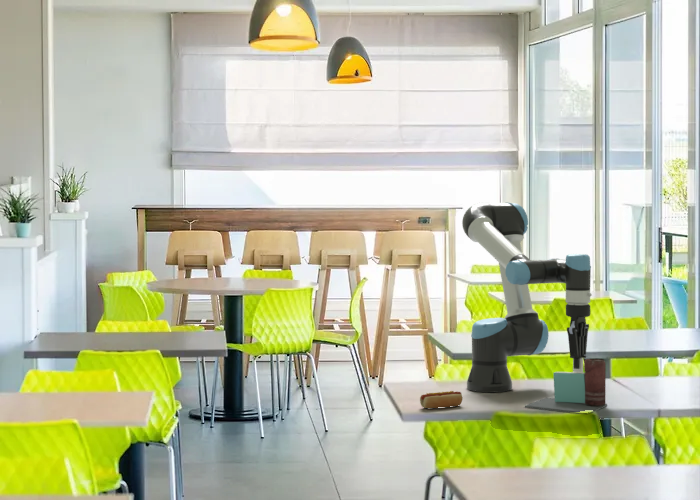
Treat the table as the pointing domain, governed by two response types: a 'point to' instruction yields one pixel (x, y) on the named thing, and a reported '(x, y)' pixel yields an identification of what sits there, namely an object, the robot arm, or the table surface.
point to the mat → (560, 406)
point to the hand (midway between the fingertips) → (578, 378)
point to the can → (595, 382)
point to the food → (441, 399)
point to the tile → (569, 387)
